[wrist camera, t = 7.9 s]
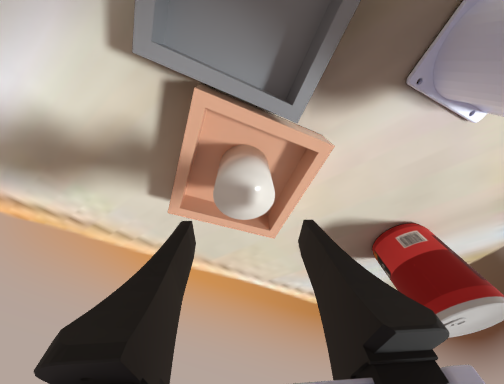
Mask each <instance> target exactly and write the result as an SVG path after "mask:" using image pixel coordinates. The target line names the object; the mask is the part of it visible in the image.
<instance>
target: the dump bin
mask: <svg viewBox="0 0 504 384" xmlns="http://www.w3.org/2000/svg"><path fill="white" fill-rule="evenodd" d="M237 145H250V146H253V147H256V148H258V149H259V150H260V151H262V152H263V154H264V155H265V156H266V158H267V161H268V165H269V169H270V173H271V177H272V182H273V186H274V190H275V199H274V202H273V205H272V206H271V208H270V209H269V210H268V211H267V212H266V213H265V214H263V215H261V216H259V217H257V218H254V219H249V220H239V219H234V218H231V217H229V216H227V215H225V214H223V213H222V212H221V211H220V210H219V209H218V208H217V206H216V204H215V202H214V199H213V191H214V186H215V182H216V177H217V173H218V169H219V164H220V160H221V158H222V156H223V155H224V153H225V152H226V151H227V150H229V149H230V148H232V147H234V146H237ZM334 147H335V146H334V145H333V144H332V143H331V142H329V141H328V140H327V139H326V138H325V137H324V136H323V135H321V134H318V133H316V132H314V131H311V130H309V129H307V128H304V127H302V126H300V125H297V124H295V123H293V122H290V121H288V120H285V119H283V118H281V117H278V116H276V115H274V114H271V113H269V112H267V111H264V110H262V109H260V108H257V107H255V106H253V105H250V104H248V103H246V102H243V101H241V100H239V99H236V98H234V97H232V96H229V95H227V94H225V93H222V92H220V91H218V90H215V89H213V88H211V87H208V86H206V85H204V84H199V85H198V86H196V87H194V92H193V97H192V101H191V106H190V111H189V115H188V120H187V125H186V129H185V134H184V139H183V143H182V148H181V153H180V158H179V162H178V167H177V172H176V176H175V181H174V186H173V190H172V195H171V200H170V204H169V209H168V213H170V214H174V215H178V216H183V217H187V218H191V219H195V220H199V221H203V222H208V223H212V224H216V225H220V226H224V227H228V228H233V229H237V230H241V231H245V232H249V233H253V234H257V235H262V236H266V237H270V238H275V237H276V235H277V234H278V232H279V231H280V229H281V228H282V226H283V224H284V223H285V221H286V220H287V218H288V217H289V215H290V214H291V212H292V211H293V209H294V208H295V206H296V205H297V203H298V202H299V200H300V199H301V197H302V196H303V194H304V192H305V191H306V189H307V188H308V186H309V185H310V183H311V182H312V180H313V179H314V177H315V176H316V174H317V173H318V171H319V170H320V168H321V167H322V165H323V164H324V162H325V161H326V159H327V157H328V156H329V154H330V153H331V151H332V150H333V148H334Z"/></svg>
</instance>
